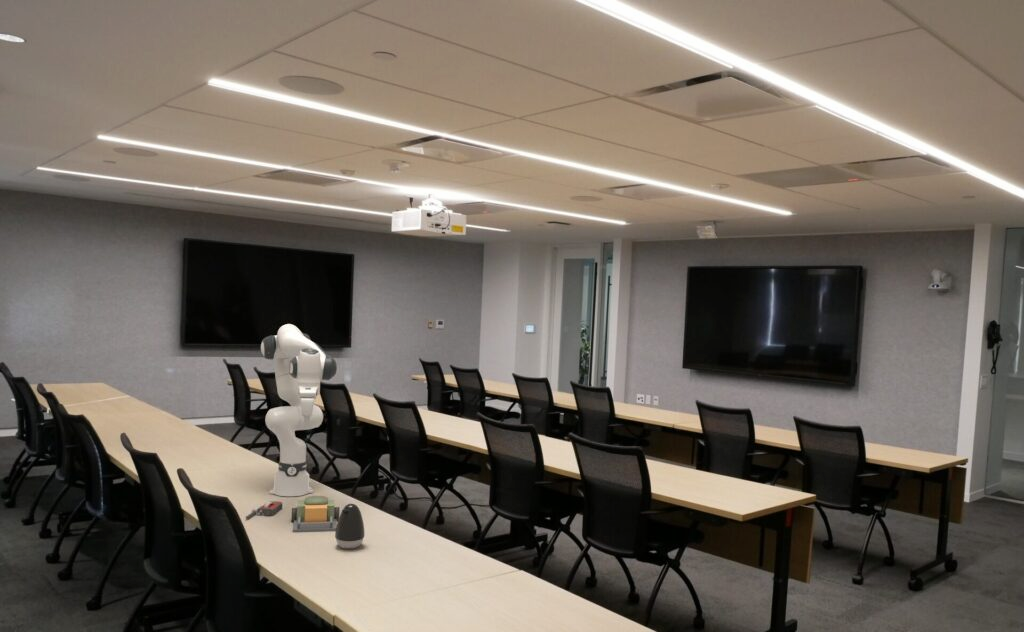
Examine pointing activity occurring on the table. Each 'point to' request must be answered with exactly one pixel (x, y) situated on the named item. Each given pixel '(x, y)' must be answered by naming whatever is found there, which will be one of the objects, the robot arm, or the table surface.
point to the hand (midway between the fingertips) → (306, 424)
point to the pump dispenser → (350, 527)
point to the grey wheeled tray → (301, 526)
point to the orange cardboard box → (316, 513)
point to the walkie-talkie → (267, 509)
